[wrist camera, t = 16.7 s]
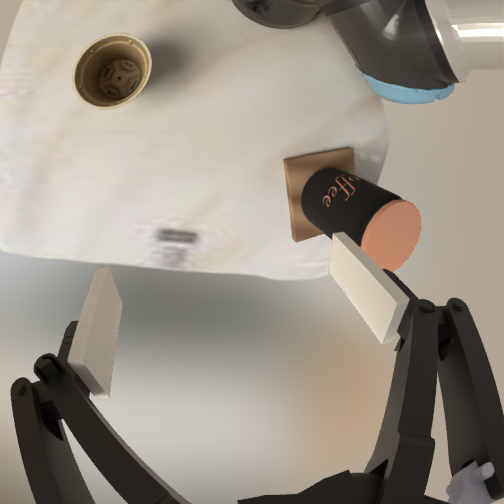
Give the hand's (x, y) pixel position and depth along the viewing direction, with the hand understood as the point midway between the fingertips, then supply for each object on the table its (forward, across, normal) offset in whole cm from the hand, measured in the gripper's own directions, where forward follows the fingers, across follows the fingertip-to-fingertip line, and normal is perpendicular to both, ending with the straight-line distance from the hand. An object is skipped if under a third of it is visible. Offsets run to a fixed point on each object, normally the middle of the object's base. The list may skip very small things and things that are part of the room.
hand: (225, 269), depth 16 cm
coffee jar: (+29, +21, -8) cm, 37 cm away
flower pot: (+28, -10, +14) cm, 33 cm away
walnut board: (+31, +21, -8) cm, 38 cm away
